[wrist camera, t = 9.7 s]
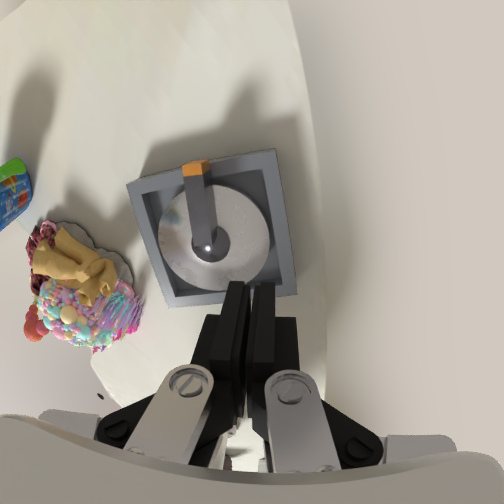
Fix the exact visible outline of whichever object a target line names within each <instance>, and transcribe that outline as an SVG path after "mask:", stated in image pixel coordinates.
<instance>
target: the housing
mask: <svg viewBox="0 0 504 504" xmlns="http://www.w3.org/2000/svg"><path fill="white" fill-rule="evenodd" d="M209 164H210V169H211V175H212V182H220V183H226V184H230V185H232V186H235V187H238V188H239V189H241V190H243V191H245V192H246V193H247V194H249V195H250V196H251V197H252V198H253V199H254V200H255V201H256V202H257V203H258V204H259V206H260V207H261V209H262V210H263V212H264V214H265V216H266V218H267V221H268V225H269V231H270V245H269V253H268V256H267V259H266V262H265V264H264V266H263V267H262V269H261V270H260V272H259V273H258V274H257V275H256V276H255V277H254V278H253V279H252V280H250V281H249V282H247V283H246V284H245V285H250V288H251V300H253V295H254V287H255V285H260V283H261V282H275V297H282V296H290V295H297V285H296V277H295V269H294V262H293V255H292V248H291V241H290V235H289V228H288V221H287V215H286V209H285V203H284V196H283V190H282V185H281V179H280V173H279V167H278V162H277V156H276V150H275V148H273V149H267V150H261V151H255V152H250V153H244V154H239V155H234V156H229V157H224V158H219V159H214V160H210V161H209ZM183 177H184V175H183V168H182V167H179V168H175V169H171V170H168V171H164V172H160V173H156V174H153V175H149V176H145V177H142V178H138V179H136V180H134V181H132V182H130V183H128V184H126V186H127V189H128V193H129V196H130V200H131V203H132V206H133V210H134V213H135V216H136V219H137V223H138V226H139V229H140V232H141V235H142V238H143V241H144V244H145V247H146V250H147V253H148V255H149V258H150V261H151V264H152V267H153V269H154V272H155V275H156V277H157V280H158V283H159V285H160V288H161V290H162V293H163V296H164V298H165V301H166V303H167V306H168V308H176V307H188V306H199V305H210V304H220V303H224V299H225V295H226V292H227V290H222V291H215V290H207V289H203V288H199V287H196V286H194V285H192V284H190V283H188V282H186V281H185V280H183V279H182V278H180V277H179V276H178V275H177V274H176V273H175V272H174V271H173V270H172V269H171V268H170V266H169V265H168V264H167V262H166V260H165V259H164V257H163V254H162V252H161V249H160V245H159V239H158V229H159V223H160V219H161V216H162V214H163V212H164V210H165V209H166V207H167V206H168V204H169V203H170V202H171V201H172V200H173V199H174V198H175V197H176V196H177V195H179V194H180V193H181V192H183V191H184V190H185V188H184V181H183Z"/></svg>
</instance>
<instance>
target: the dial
mask: <svg viewBox="0 0 504 504" xmlns="http://www.w3.org/2000/svg"><path fill="white" fill-rule="evenodd" d="M182 168H183V175H184V177H183V181H184V188H185V190H184V191H183V192H181V193H180V194H179V195H177V196H176V197H175V198H174V199H173V200H172V201H171V202H170V203H169V204H168V206H167V207H166V209H165V210H164V212H163V214H162V216H161V219H160V223H159V229H158V239H159V245H160V249H161V252H162V254H163V257H164V259H165V260H166V262H167V264H168V265H169V266H170V268H171V269H172V270H173V271H174V272H175V273H176V274H177V275H178V276H179V277H180V278H182V279H183V280H185V281H186V282H188V283H190V284H192V285H194V286H196V287H199V288H203V289H207V290H215V291H222V290H227V288H228V285H229V281H245V284H246V283H247V282H249V281H250V280H252V279H253V278H254V277H255V276H256V275H257V274H258V273H259V272H260V270H261V269H262V267H263V266H264V264H265V262H266V259H267V256H268V253H269V245H270V231H269V225H268V221H267V218H266V216H265V214H264V212H263V210H262V209H261V207H260V206H259V204H258V203H257V202H256V201H255V200H254V199H253V198H252V197H251V196H250V195H249V194H247V193H246V192H245V191H243V190H241V189H239V188H238V187H235V186H232V185H230V184H226V183H220V182H212V175H211V169H210V164H209V159H203V160H195V161H191V162H188V163H186V164H184V165H182Z"/></svg>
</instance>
